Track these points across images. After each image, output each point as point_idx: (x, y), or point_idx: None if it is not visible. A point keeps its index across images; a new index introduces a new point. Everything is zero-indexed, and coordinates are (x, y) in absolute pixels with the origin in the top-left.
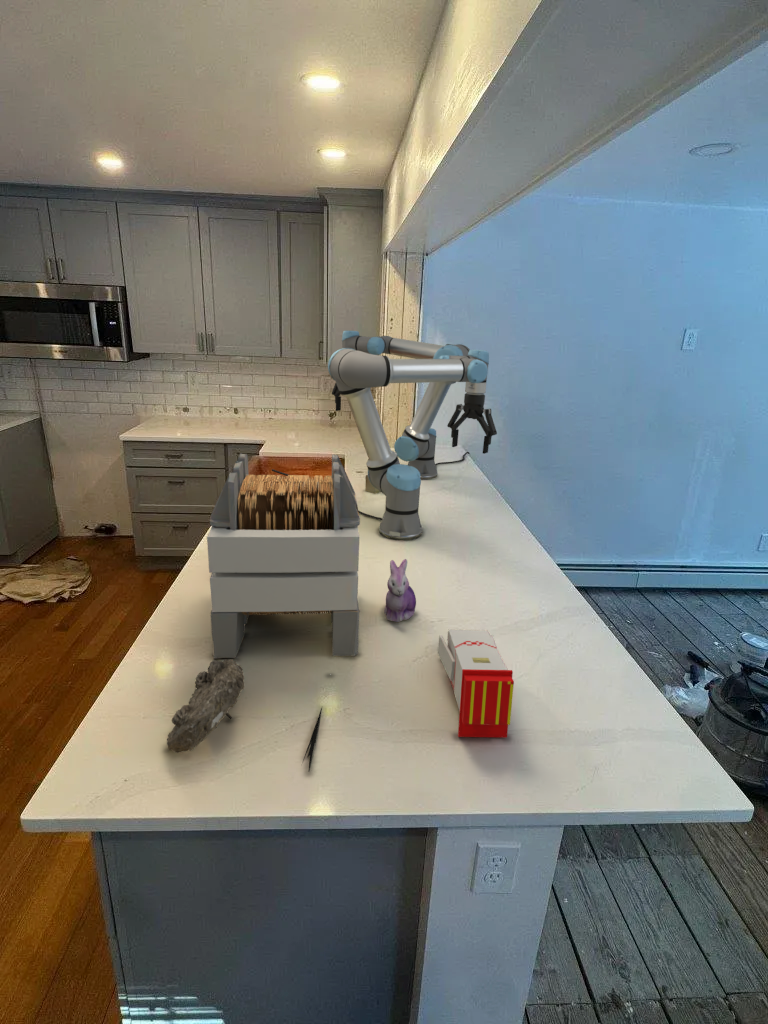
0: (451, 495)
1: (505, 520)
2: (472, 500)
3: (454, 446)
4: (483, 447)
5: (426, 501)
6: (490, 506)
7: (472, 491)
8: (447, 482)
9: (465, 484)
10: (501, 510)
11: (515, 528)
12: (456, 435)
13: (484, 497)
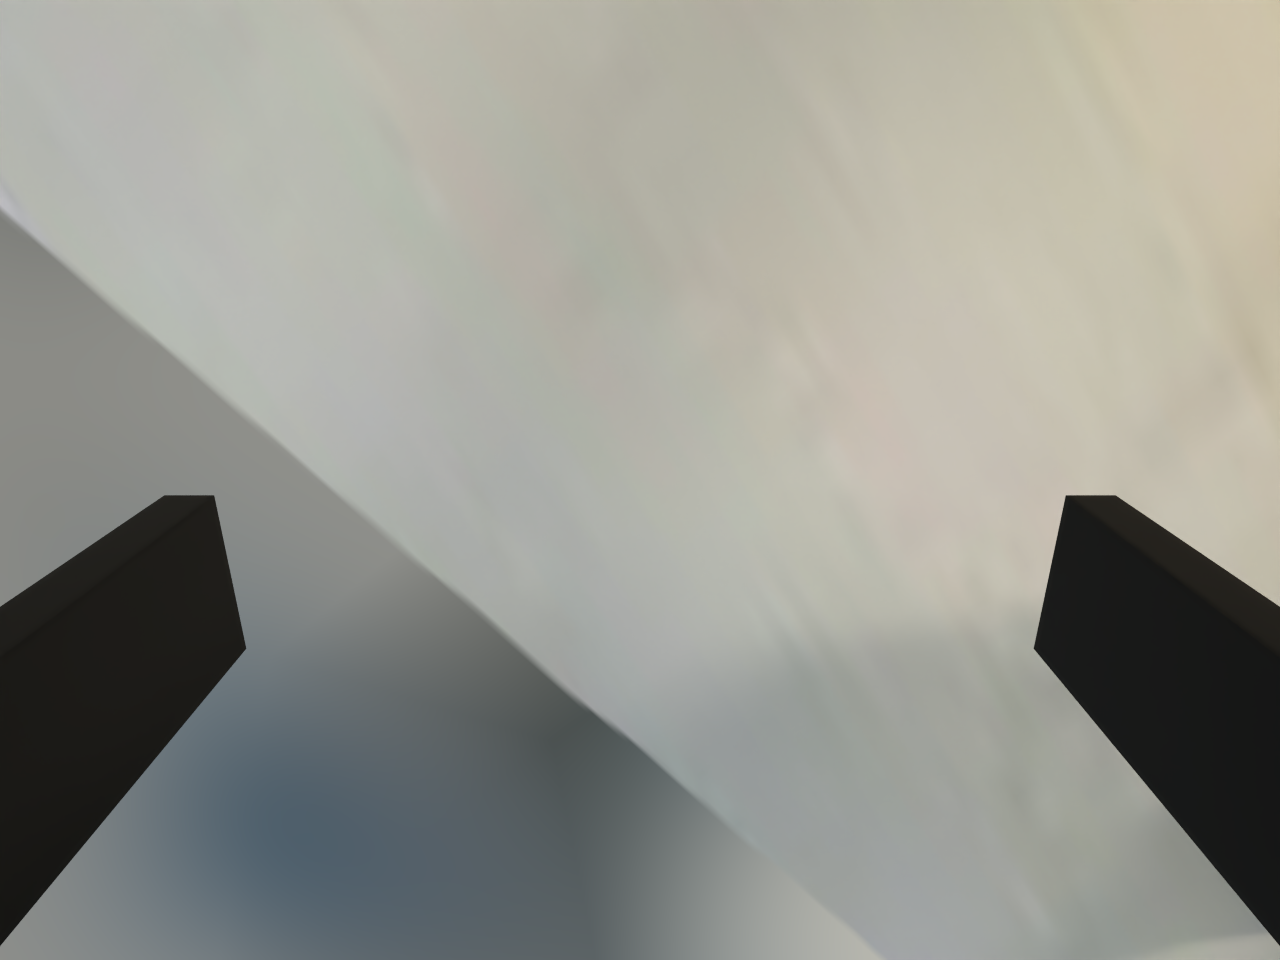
0: (928, 587)
1: (283, 384)
2: (735, 601)
3: (1062, 540)
4: (108, 561)
5: (1033, 302)
6: (556, 580)
7: (842, 770)
8: (1099, 814)
9: (962, 861)
10: (445, 561)
11: (113, 275)
12: (1245, 775)
13: (702, 718)
